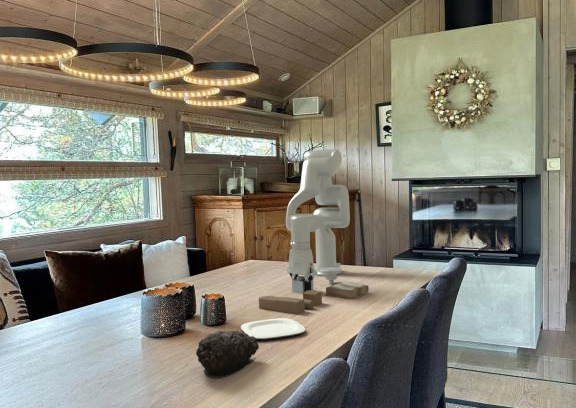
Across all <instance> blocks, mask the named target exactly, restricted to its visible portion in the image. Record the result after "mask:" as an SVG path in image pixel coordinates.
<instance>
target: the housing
mask: <svg viewBox="0 0 576 408" xmlns="http://www.w3.org/2000/svg"><path fill="white" fill-rule="evenodd" d="M305 282H306V279H305V275H299V276H297V279H294V280H292V279H291V290H292V291H291V293H293V294H294V293H296V294H301V295H303V293H304V292H306V291H305ZM311 291H314V279H313V280H312V281H311Z"/></svg>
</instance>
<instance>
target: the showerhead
mask: <svg viewBox="0 0 576 408" xmlns="http://www.w3.org/2000/svg"><path fill="white" fill-rule="evenodd" d="M320 272H321V273H323V274H326V276H325V280H327V281H328V284H329V285H334V284H335V280H337V279H338V275H339V274H341V273H342V272H343V268H341V267H325V268H321V269H320ZM333 283H334V284H333Z"/></svg>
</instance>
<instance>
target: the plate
mask: <svg viewBox="0 0 576 408" xmlns="http://www.w3.org/2000/svg"><path fill="white" fill-rule="evenodd" d="M240 329H241V331H242V333H243V334H244V333H246V334H248V335H249V336H250V337H251V336H254V337H255V338H256V340H275V339H282V338H289V337H291V336H297V335H301V334H303V333H305V332H306V328H305V327H304V326H303V325H302V323H299V322H298V321H296V320H295V319H292V318H287V317H285V318H284V317H283V318H282V317H280V318H279V317H278V318H269V319H263V320H262V319H261V320H255V321H249V322H245V323H243V324H241V326H240Z"/></svg>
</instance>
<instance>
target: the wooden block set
mask: <svg viewBox="0 0 576 408" xmlns="http://www.w3.org/2000/svg"><path fill="white" fill-rule="evenodd" d="M322 303H323V293H322V291H321V290H313V291H310V290H308V291H306V292H304V293H303V294H302V298H295V297H288V296H282V297H281V296H275V295H262V296H260V297H258V308H259V309H263V310H270V311H276V312H281V313H285V314H286V313H287V314H294V315H300V314H302V313H304V312H305V310H313V309H314V308H315V307H316V306H319V305H321V304H322ZM314 306H315V307H314Z"/></svg>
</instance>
